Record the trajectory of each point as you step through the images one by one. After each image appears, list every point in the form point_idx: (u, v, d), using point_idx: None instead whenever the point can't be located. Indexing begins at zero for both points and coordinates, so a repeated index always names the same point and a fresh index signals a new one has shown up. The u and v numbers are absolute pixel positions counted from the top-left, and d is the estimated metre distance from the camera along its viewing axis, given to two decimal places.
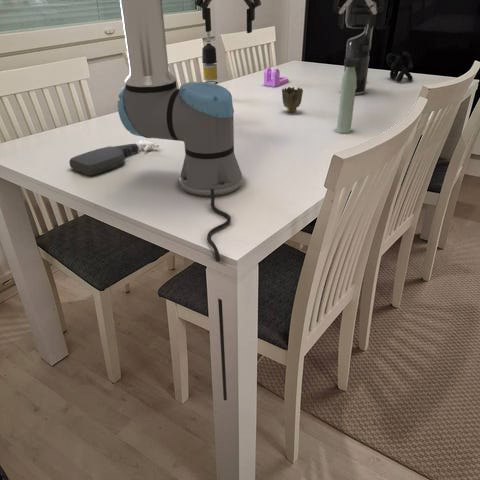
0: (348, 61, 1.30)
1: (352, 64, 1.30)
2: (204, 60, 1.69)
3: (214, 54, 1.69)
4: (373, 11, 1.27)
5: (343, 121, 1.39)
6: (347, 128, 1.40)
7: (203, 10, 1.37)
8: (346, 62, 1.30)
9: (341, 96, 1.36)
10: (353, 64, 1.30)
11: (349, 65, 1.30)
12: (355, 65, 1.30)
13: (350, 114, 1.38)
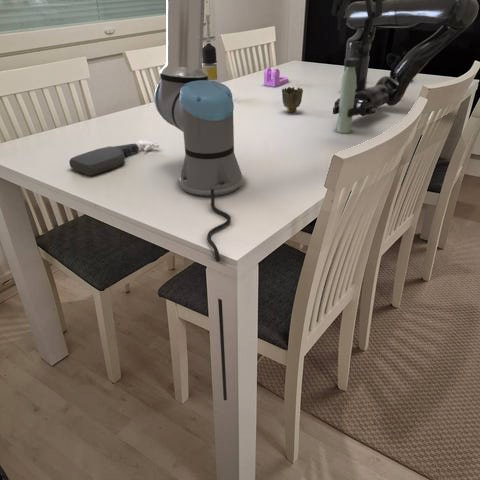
0: (348, 61, 1.30)
1: (352, 64, 1.30)
2: (204, 60, 1.69)
3: (214, 54, 1.69)
4: None
5: (343, 121, 1.39)
6: (347, 128, 1.40)
7: None
8: (346, 62, 1.30)
9: (341, 96, 1.36)
10: (353, 64, 1.30)
11: (349, 65, 1.30)
12: (355, 65, 1.30)
13: None
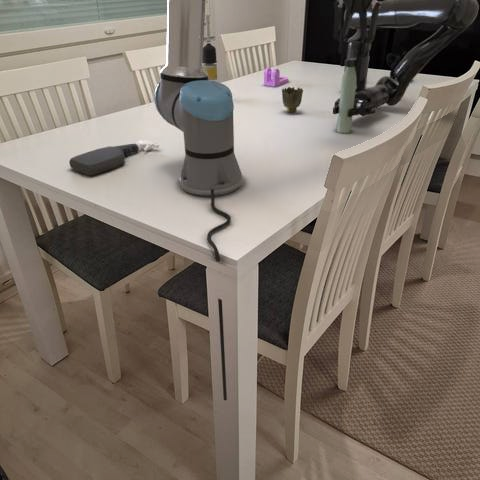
0: (348, 61, 1.30)
1: (352, 64, 1.30)
2: (204, 60, 1.69)
3: (214, 54, 1.69)
4: None
5: (343, 121, 1.39)
6: (347, 128, 1.40)
7: None
8: (346, 62, 1.30)
9: (341, 96, 1.36)
10: (353, 64, 1.30)
11: (349, 65, 1.30)
12: (355, 65, 1.30)
13: None
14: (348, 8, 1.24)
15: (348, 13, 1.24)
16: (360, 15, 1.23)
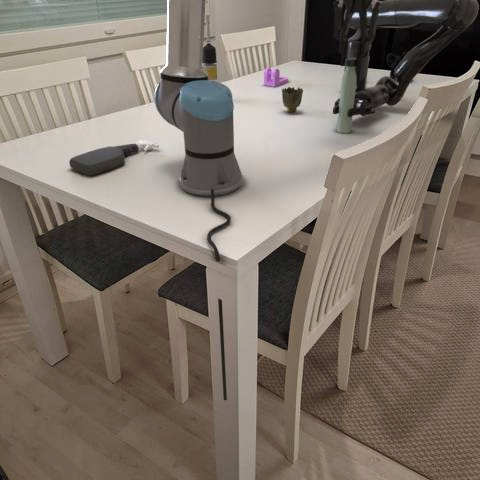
0: None
1: None
2: (204, 60, 1.69)
3: (214, 54, 1.69)
4: None
5: (343, 121, 1.39)
6: (347, 128, 1.40)
7: None
8: None
9: (341, 96, 1.36)
10: None
11: None
12: None
13: None
14: (348, 8, 1.23)
15: (348, 13, 1.24)
16: (360, 15, 1.23)
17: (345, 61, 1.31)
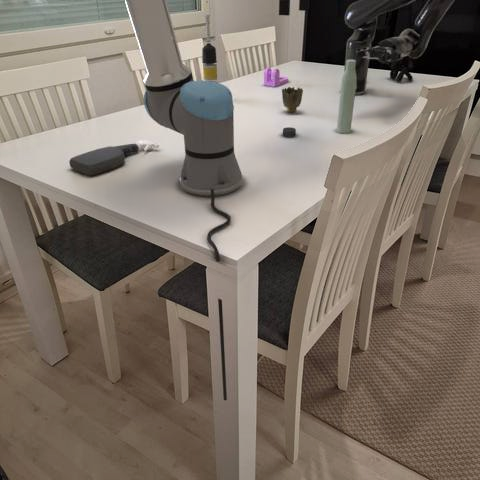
0: (295, 131, 1.38)
1: None
2: (204, 60, 1.69)
3: (214, 54, 1.69)
4: (362, 57, 1.45)
5: (343, 121, 1.39)
6: (347, 128, 1.40)
7: None
8: (294, 133, 1.38)
9: (341, 96, 1.36)
10: None
11: (295, 134, 1.39)
12: None
13: (350, 114, 1.38)
14: None
15: None
16: None
17: (284, 132, 1.39)
